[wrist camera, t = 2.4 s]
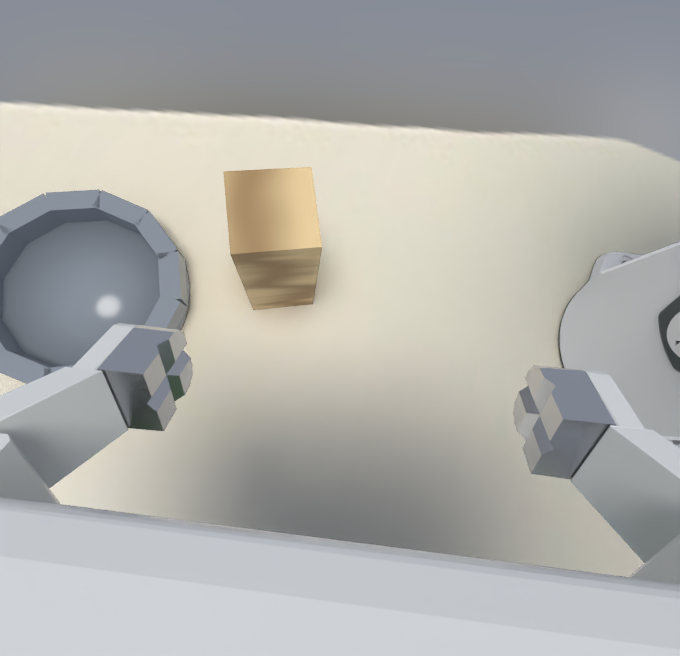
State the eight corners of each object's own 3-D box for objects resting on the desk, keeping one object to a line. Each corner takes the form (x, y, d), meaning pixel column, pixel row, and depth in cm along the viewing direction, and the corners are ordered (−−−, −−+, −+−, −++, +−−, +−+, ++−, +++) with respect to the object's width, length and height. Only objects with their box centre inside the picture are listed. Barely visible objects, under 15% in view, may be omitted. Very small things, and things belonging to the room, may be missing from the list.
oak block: (305, 249, 34) (311, 167, 23) (312, 303, 33) (321, 246, 22) (248, 254, 34) (223, 171, 22) (253, 309, 33) (230, 254, 21)
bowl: (184, 204, 34) (174, 185, 31) (195, 376, 31) (185, 373, 28) (-6, 216, 32) (-36, 197, 29) (-13, 401, 29) (-47, 400, 26)
